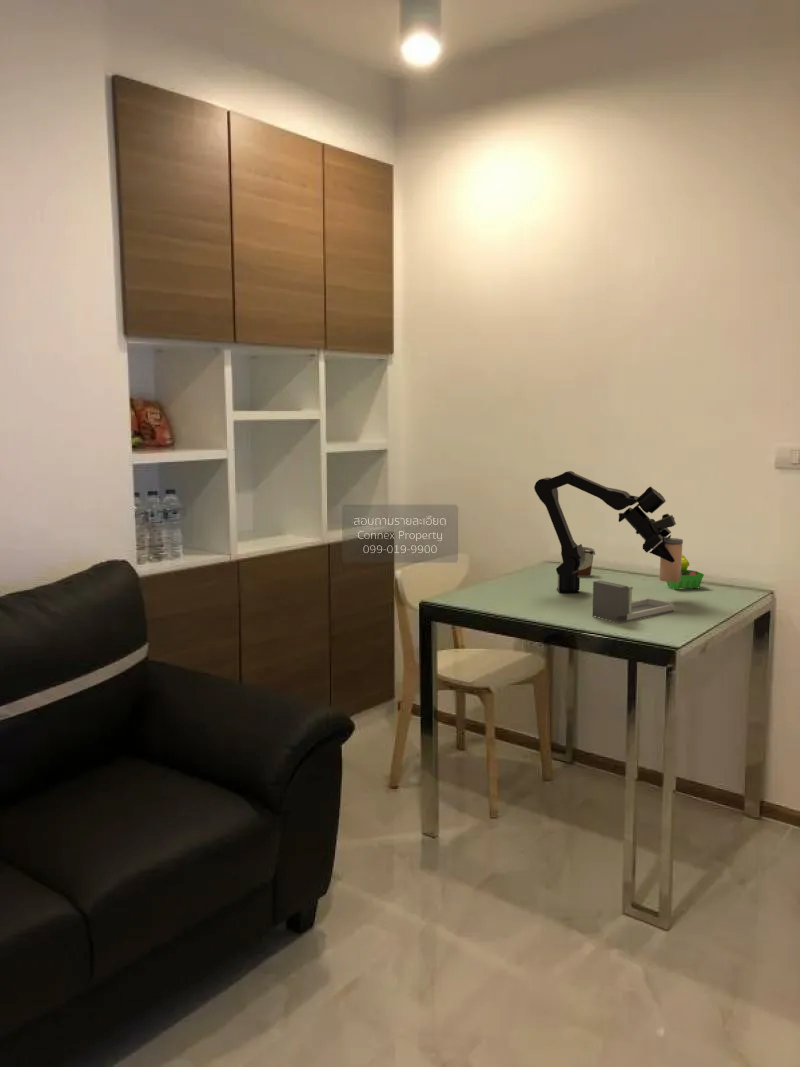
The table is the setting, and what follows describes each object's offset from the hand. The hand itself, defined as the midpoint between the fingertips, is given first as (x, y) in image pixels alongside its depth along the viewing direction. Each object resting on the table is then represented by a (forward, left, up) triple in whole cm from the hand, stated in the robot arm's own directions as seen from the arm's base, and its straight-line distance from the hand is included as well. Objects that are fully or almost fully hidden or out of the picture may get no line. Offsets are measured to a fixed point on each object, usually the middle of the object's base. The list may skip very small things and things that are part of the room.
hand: (675, 559), depth 274 cm
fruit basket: (+9, +21, -14) cm, 26 cm away
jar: (-1, +1, -7) cm, 7 cm away
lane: (-17, -17, -13) cm, 27 cm away
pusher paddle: (-22, -20, -12) cm, 32 cm away
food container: (-23, +43, -14) cm, 50 cm away
